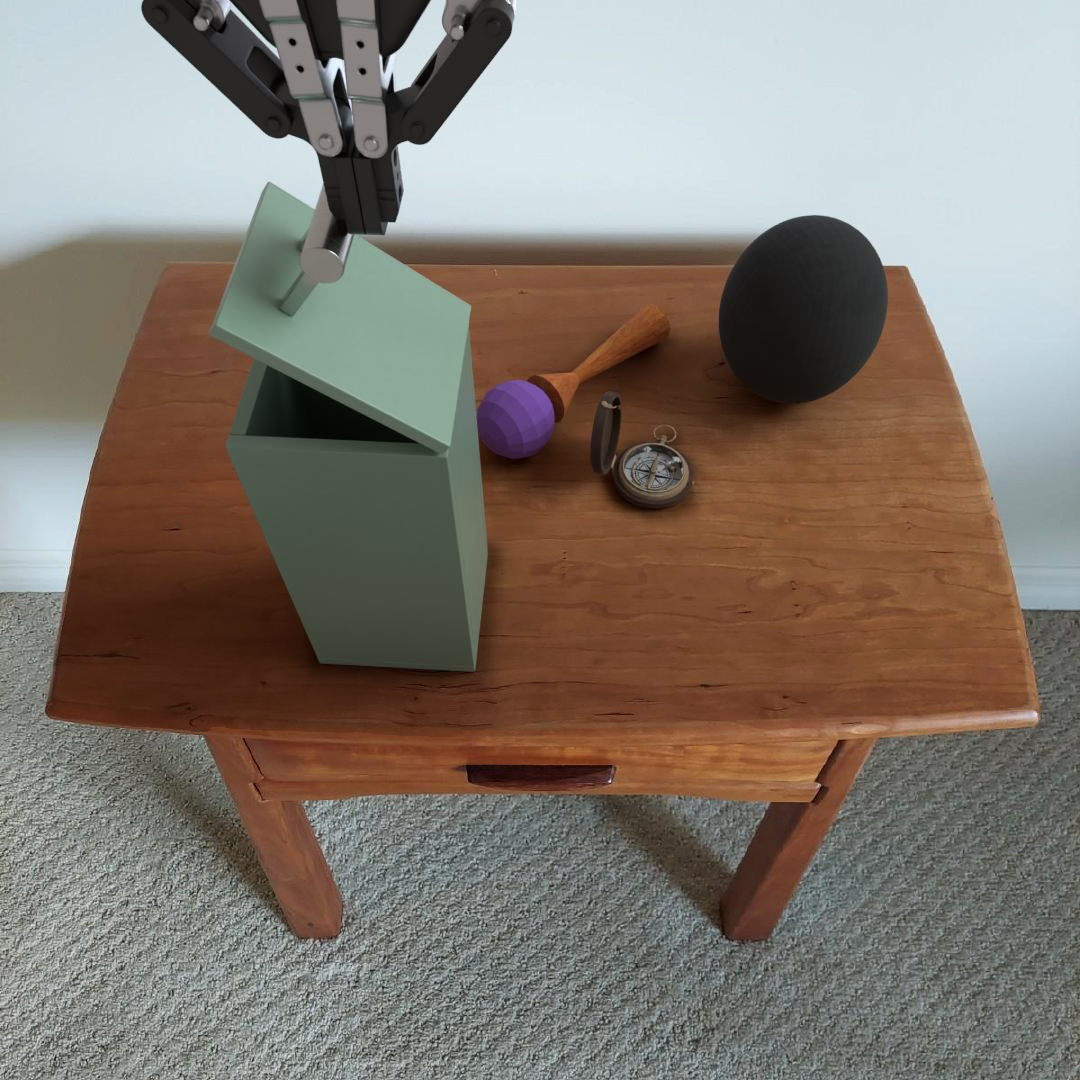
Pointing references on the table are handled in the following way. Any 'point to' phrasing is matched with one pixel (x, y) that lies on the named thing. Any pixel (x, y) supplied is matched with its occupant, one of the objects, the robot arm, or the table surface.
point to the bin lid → (345, 318)
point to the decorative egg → (803, 309)
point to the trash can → (367, 523)
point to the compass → (638, 461)
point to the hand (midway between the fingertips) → (371, 222)
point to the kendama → (558, 389)
